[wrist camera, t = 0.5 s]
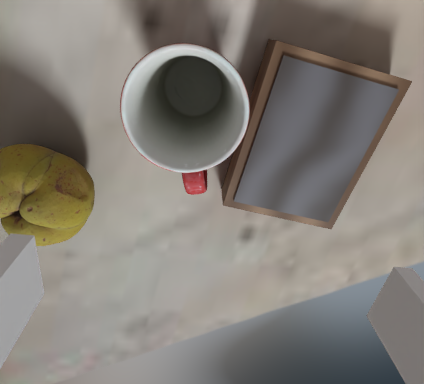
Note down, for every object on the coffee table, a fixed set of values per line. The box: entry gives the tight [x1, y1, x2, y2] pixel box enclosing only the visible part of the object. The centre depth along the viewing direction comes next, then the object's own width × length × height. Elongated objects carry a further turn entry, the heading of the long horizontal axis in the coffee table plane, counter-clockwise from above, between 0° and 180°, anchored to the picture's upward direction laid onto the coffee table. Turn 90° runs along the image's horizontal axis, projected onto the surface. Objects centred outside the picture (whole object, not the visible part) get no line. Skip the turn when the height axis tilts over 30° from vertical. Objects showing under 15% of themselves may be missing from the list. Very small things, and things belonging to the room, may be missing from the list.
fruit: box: [0, 144, 95, 246], centre depth 33 cm, size 11×12×10 cm
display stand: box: [222, 39, 412, 229], centre depth 34 cm, size 14×18×4 cm
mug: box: [120, 43, 250, 195], centre depth 28 cm, size 13×9×14 cm
